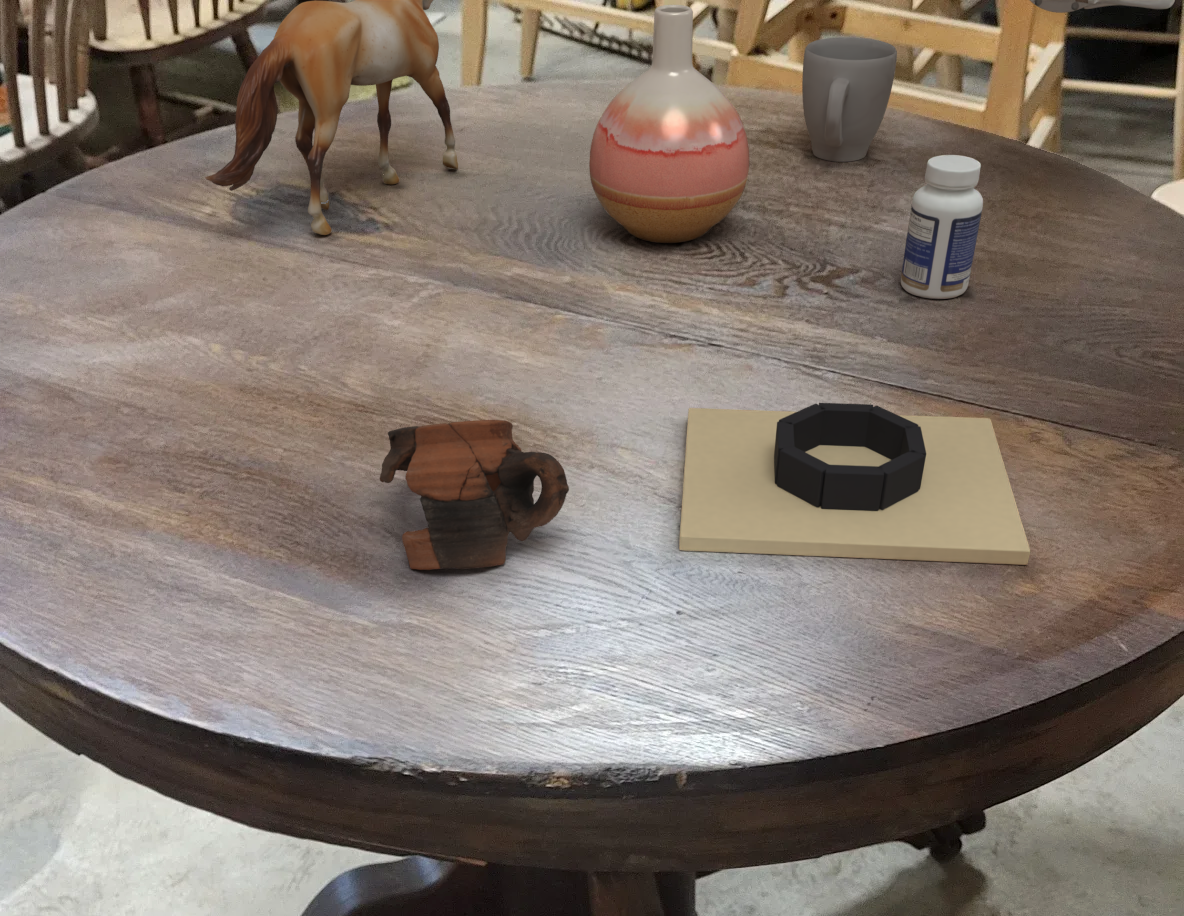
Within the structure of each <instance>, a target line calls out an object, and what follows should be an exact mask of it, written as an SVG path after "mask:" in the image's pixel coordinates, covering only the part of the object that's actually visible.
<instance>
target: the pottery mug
mask: <svg viewBox="0 0 1184 916" xmlns="http://www.w3.org/2000/svg"><path fill="white" fill-rule="evenodd" d="M387 436H388V440H389V446H390V449H389V451H388V453H387V454H386V455H385V456H384V458H383V461H382V463H381V470H380V471H381V472H380V473H379V482H381V483H386V484H390V483H391V482H393V481H394V479H395V475H396V471H403V472H406V473H405V476H404V477H405V481H406V484H407V487H408V488H409V490H410V491H411V492H412V493H414V494H416V496H417V495H418V496H420V497H419V501H420V505H421V507H422V511H423V513H424V517H425V520H426V523H427V527H425V528H423V529H417V530H407V531H405V532H404V533H403V534H402V536H401V541H402V545H403V548H404V550H405V554H406V557H407V560H408V564H409V568H410V569H411V570H417V571H424V570H425V571H430V570H440V569H441V570H448V569H449V570H450V569H457V570H472V569H473V570H474V569H481V568H482V569H483V568H489V567H490V568H491V567H496V566H503V565H504V564H505V563H506V558H507V557H506V555H507V551H506V550H507V549H506V548H507V546H508V541H509V539H508V538H509V534H510V533H511V535H513V537H514V538H515V539H516V540H517V541H519V542H522V543H523V542H525V541H526V540H528V539H529V537H530V536H531V534H532V532H533V530H534V529H536V528H540V527H543V526H545V525H548V524H549V523H550V522H551V521H553V520H554V519H555V518H556V516H558V514H559V512H561V510H562V508H563V506H564V504H565V501H566V497H567V494H568V493H569V491H570V487H569V484H568V479H567V475H566V472H565V469H564V467H563V466H562V464H561V462H559V460H558V459H556V457H554V456H553V455H551V454H549V453H546V452H541V451H540V452H538V451H522V448H521V447H520V446H519V445H518V444H517V443H516V442H515V440H514V439H513V423H512V422H510V421H509V420H505V419H480V420H479V419H478V420H464V421H452V422H449V423H447V422H445V423H444V422H441V423H432V424H426V425H411V426H407V427H400V428H396V429H393V430H392V429H391V430H389V431H388V432H387ZM536 477H538V478H539V481H540V483H541V489H540V494H539V495H538V498H537V500H534V497H533V494H534V491H535V479H536Z"/></svg>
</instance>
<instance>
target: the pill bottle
mask: <svg viewBox="0 0 1184 916" xmlns="http://www.w3.org/2000/svg"><path fill="white" fill-rule="evenodd" d="M981 167H982V165H981V162H979V161H978V160H977V159H976V158H972V157H969V156H965V155H959V154H943V155H935V156H933V157H931V158H929V159H928V160H927V162H926V167H925V168H926V169H925V174H924V182H925V183H926V184H925V185H923V186H921V187H919V188H918V189H917V190H916V191H915V193H914V194H913V196H912V200H911V205H910V206H911V207H910V213H909V219H908V226H907V231H906V239H905V246H904V253H903V261H902V267H901V273H900V285H901V288H903V289H904V290H905V291H906V292H907V293H909V294H911V295H913V296H916V297H920V298H925V299H931V300H932V299H933V300H946V299H953V298H957V297H959V296H961V295H963V294H964V293H965V292H966V291H967V289H968V287H969V283H970V278H971V272H972V268H973V267H972V266H973V261H974V257H975V252H976V245H977V240H978V234H979V230H980V223H981V217H982V213H983V208H984V207H983V206H984V199H983V196H982V194H981V192H980V191H978V190H977V189H976V188H975V187H976V186H978V183H979V181H980V173H981Z"/></svg>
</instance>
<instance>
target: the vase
mask: <svg viewBox="0 0 1184 916" xmlns="http://www.w3.org/2000/svg"><path fill="white" fill-rule="evenodd" d="M693 34H694V11H693V9H692V7H690V6H687V5H683V4H663V5H660V6H658V7H657V6H656V8H655V10H654V13H653V34H652V37H653V38H652V59H651V65H650V67H649V68H648V69H647V70H645V71H644V72H642V73H641V74H639V75H638V76H636V77H635V78H634V79H633V80H631V81H630V82H629V83H628V84H627V85H626V86H624V87H623V88H622V89H621V90H620V91H619V92H618V93H617V94H616V95H614V97H613V98H612V99H611V100H610V102H608V105H607V106H606V108H605V109H604V110H603V112H602V114H601V116H600V118H599V120H598V121H597V122H596V123H597V124H596V126H595V129H594V132H593V134H592V139H591V143H590V149H589V163H588V166H589V167H588V169H589V178H590V183H591V186H592V190H593V192H594V194H595V196H596V199H597V200H598V202H599V204H600V205H601V207H602V208H603V210H605V212H606V213H607V214H608V215H609V216H610V217H611V218H612V219H613V220H614V221H615V222H617V223H618V224H620V225H621V226H622V227H623V228H624V229H625V231H626V232H627V233H628V234H630V235H631V236H633V237H634V238H637V239H639V240H641V241H646V242H650V243H657V244H678V243H685V242H686V243H687V242H690V241H694V240H696V239H699V238H701V237H703V236H704V235H705V234H707V233H708V232H709V231H710V230H711V229H712V228H713V227H714V226H715V225H717V224H718V223H720V222H721V221H722V220H724V219H725V218H726V217H727V216H728V215H729V214H730V213H731V212H732V210H733V209H734V208H735V206H737V203H738V202H739V201H740V199H741V197H742V195H743V193H744V191H745V188H746V185H747V181H748V177H749V173H750V172H749V171H750V148H749V147H750V146H749V141H748V136H747V132H746V129H745V126H744V123H743V121H742V118H741V116H740V114H739V112H738V111H737V109H736V107H735V106H734V104H733V103H732V102H731V100H730V99H729V98H728V97H727V96H726V94H725V93H724V92H723V91H722V90H721V89H720V88H719V87H718V86H717V85H716V84H714V83H713V82H712V80H710V79H709V78H707V77H706V76H705V75H703V74H702V73H701V72H700V71H698V70H697V69H696V68H695V66H693V65H694V64H693V40H694V39H693V37H694V35H693Z"/></svg>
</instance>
